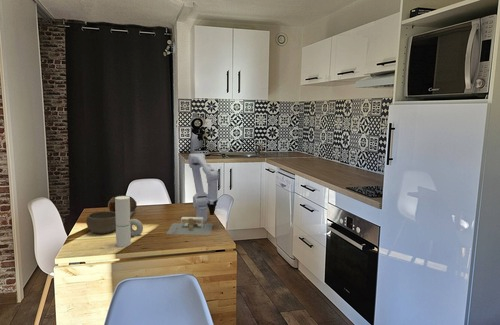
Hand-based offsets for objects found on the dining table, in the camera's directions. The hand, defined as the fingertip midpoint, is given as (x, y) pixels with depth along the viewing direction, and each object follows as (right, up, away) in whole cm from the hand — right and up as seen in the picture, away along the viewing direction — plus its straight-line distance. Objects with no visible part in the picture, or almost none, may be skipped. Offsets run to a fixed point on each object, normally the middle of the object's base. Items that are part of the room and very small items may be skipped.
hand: (212, 213), depth 220 cm
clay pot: (-61, -5, +26) cm, 67 cm away
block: (-12, -8, +5) cm, 15 cm away
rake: (-12, -9, -2) cm, 15 cm away
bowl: (-62, -10, -8) cm, 63 cm away
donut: (-42, -11, -16) cm, 46 cm away
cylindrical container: (-43, -13, -29) cm, 54 cm away
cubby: (-13, -10, -3) cm, 16 cm away
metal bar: (-21, -9, -7) cm, 24 cm away
